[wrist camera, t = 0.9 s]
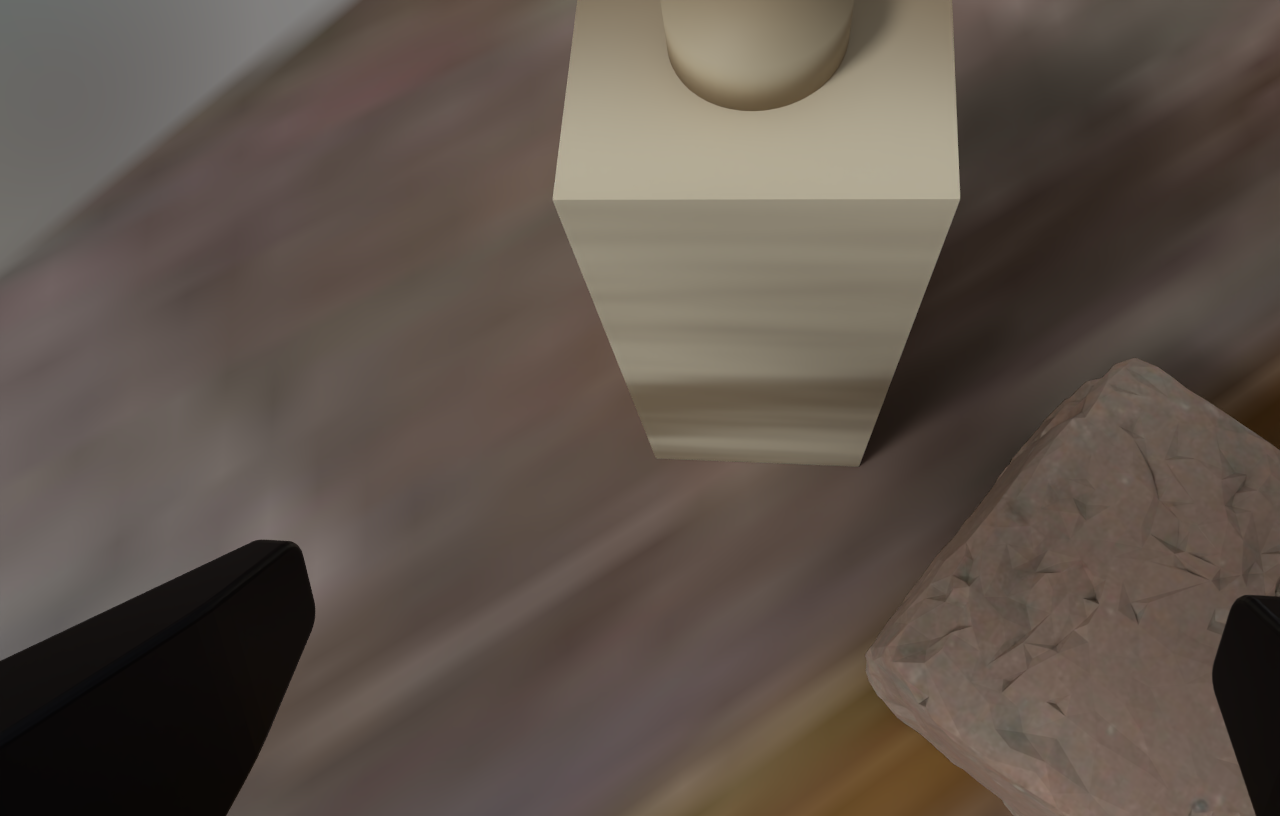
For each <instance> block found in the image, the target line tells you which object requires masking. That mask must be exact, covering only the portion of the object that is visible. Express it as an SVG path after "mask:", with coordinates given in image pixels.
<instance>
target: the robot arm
mask: <svg viewBox="0 0 1280 816" xmlns="http://www.w3.org/2000/svg"><path fill="white" fill-rule="evenodd" d="M314 620H315V603H314V598H313V594H312V590H311V586H310V582H309V578H308V574H307V569H306V565H305V561H304V557H303V554H302V551H301V549H300V548H299V546H298V545H297V544H295V543H293V542H291V541H277V540H256V541H253V542H251V543H249V544H247V545H245V546H242V547H240V548H238V549H236V550H234V551H232V552H230V553H228V554H226V555H223V556H221V557H219V558H217V559H215V560H213V561H211V562H209V563H206V564H204V565H202V566H200V567H198V568H196V569H194V570H192V571H190V572H187V573H185V574H183V575H181V576H179V577H177V578H175V579H173V580H171V581H168V582H166V583H164V584H162V585H160V586H158V587H156V588H154V589H152V590H149V591H147V592H145V593H143V594H141V595H139V596H137V597H135V598H132V599H130V600H128V601H126V602H124V603H122V604H120V605H118V606H116V607H113V608H111V609H109V610H107V611H105V612H103V613H101V614H99V615H97V616H94V617H92V618H90V619H88V620H86V621H84V622H82V623H80V624H78V625H75V626H73V627H71V628H69V629H67V630H65V631H63V632H61V633H59V634H56V635H54V636H52V637H50V638H48V639H46V640H44V641H42V642H39V643H37V644H35V645H33V646H31V647H29V648H27V649H25V650H23V651H20V652H18V653H16V654H14V655H12V656H10V657H8V658H6V659H4V660H1V661H0V816H226V815H227V813H228V811H229V809H230V808H231V806H232V804H233V802H234V800H235V799H236V797H237V795H238V793H239V791H240V789H241V788H242V786H243V784H244V782H245V780H246V778H247V776H248V775H249V773H250V771H251V769H252V767H253V765H254V763H255V761H256V759H257V757H258V755H259V753H260V751H261V748H262V746H263V744H264V742H265V740H266V738H267V735H268V733H269V731H270V728H271V726H272V724H273V721H274V719H275V716H276V714H277V712H278V709H279V707H280V705H281V702H282V700H283V697H284V695H285V693H286V690H287V688H288V686H289V683H290V681H291V678H292V676H293V674H294V671H295V669H296V667H297V664H298V662H299V659H300V657H301V655H302V652H303V650H304V648H305V645H306V643H307V640H308V638H309V636H310V633H311V631H312V628H313V624H314ZM1212 684H1213V690H1214V693H1215V696H1216V699H1217V702H1218V705H1219V708H1220V711H1221V714H1222V717H1223V720H1224V723H1225V726H1226V729H1227V732H1228V735H1229V738H1230V741H1231V744H1232V747H1233V750H1234V753H1235V756H1236V759H1237V762H1238V765H1239V768H1240V771H1241V774H1242V777H1243V780H1244V782H1245V785H1246V788H1247V791H1248V794H1249V797H1250V800H1251V803H1252V806H1253V809H1254V812H1255V815H1256V816H1280V596H1263V595H1243V596H1241V597H1239V598H1237V599H1236V600H1235V602H1234V603H1233V604H1232V606H1231V609H1230V611H1229V614H1228V617H1227V621H1226V624H1225V627H1224V630H1223V633H1222V637H1221V640H1220V643H1219V646H1218V650H1217V653H1216V656H1215V659H1214V663H1213V667H1212Z"/></svg>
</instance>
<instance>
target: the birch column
mask: <svg viewBox="0 0 1280 816" xmlns="http://www.w3.org/2000/svg"><path fill="white" fill-rule="evenodd" d="M959 201H960V181H959V157H958V133H957V109H956V85H955V61H954V38H953V14H952V0H577V8H576V16H575V24H574V32H573V40H572V48H571V56H570V64H569V72H568V80H567V88H566V96H565V104H564V112H563V120H562V128H561V136H560V144H559V152H558V160H557V168H556V176H555V184H554V192H553V202H554V205H555V207H556V210H557V212H558V215H559V217H560V220H561V222H562V225H563V227H564V230H565V232H566V235H567V237H568V240H569V242H570V245H571V247H572V250H573V252H574V255H575V257H576V260H577V262H578V265H579V267H580V270H581V272H582V275H583V277H584V280H585V282H586V285H587V287H588V290H589V292H590V295H591V297H592V299H593V302H594V304H595V307H596V309H597V312H598V314H599V317H600V319H601V322H602V324H603V327H604V329H605V332H606V334H607V337H608V339H609V342H610V344H611V347H612V349H613V352H614V354H615V357H616V359H617V362H618V364H619V367H620V369H621V372H622V374H623V377H624V379H625V382H626V384H627V387H628V389H629V392H630V394H631V397H632V399H633V402H634V404H635V407H636V409H637V412H638V414H639V417H640V419H641V422H642V424H643V427H644V429H645V432H646V434H647V437H648V439H649V442H650V444H651V447H652V449H653V452H654V454H655V457H656V458H658V459H682V460H707V461H732V462H757V463H781V464H806V465H831V466H855V467H859V465H860V462H861V460H862V457H863V455H864V452H865V449H866V447H867V444H868V441H869V439H870V436H871V433H872V431H873V428H874V426H875V423H876V420H877V418H878V415H879V412H880V410H881V407H882V404H883V402H884V399H885V396H886V394H887V391H888V389H889V386H890V383H891V381H892V378H893V375H894V373H895V370H896V367H897V365H898V362H899V360H900V357H901V354H902V352H903V349H904V346H905V344H906V341H907V338H908V336H909V333H910V330H911V328H912V325H913V323H914V320H915V317H916V315H917V312H918V309H919V307H920V304H921V301H922V299H923V296H924V294H925V291H926V288H927V286H928V283H929V280H930V278H931V275H932V272H933V270H934V267H935V264H936V262H937V259H938V257H939V254H940V251H941V249H942V246H943V243H944V241H945V238H946V235H947V233H948V230H949V228H950V225H951V222H952V220H953V217H954V214H955V212H956V209H957V206H958V204H959Z"/></svg>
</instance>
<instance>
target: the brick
mask: <svg viewBox="0 0 1280 816" xmlns="http://www.w3.org/2000/svg"><path fill="white" fill-rule="evenodd" d="M1243 595H1263V596H1280V450H1279V449H1277V448H1276V447H1275V446H1273V445H1272V444H1270V443H1269V442H1268V441H1266V440H1265V439H1263V438H1262V437H1260V436H1259V435H1257V434H1256V433H1254V432H1253V431H1251V430H1250V429H1248V428H1247V427H1245V426H1244V425H1242V424H1241V423H1240V422H1238V421H1237V420H1235V419H1234V418H1232V417H1231V416H1229V415H1228V414H1226V413H1225V412H1223V411H1222V410H1220V409H1219V408H1217V407H1216V406H1214V405H1213V404H1211V403H1210V402H1208V401H1207V400H1205V399H1203V398H1202V397H1200V396H1198V395H1197V394H1195V393H1193V392H1192V391H1190V390H1188V389H1187V388H1185V387H1184V386H1183V385H1182V384H1180V383H1179V382H1178V381H1177V380H1176V379H1174V378H1173V377H1172V376H1170V375H1169V374H1167V373H1166V372H1164V371H1163V370H1162V369H1160V368H1159V367H1157V366H1154V365H1152V364H1150V363H1147V362H1145V361H1142V360H1140V359H1137V358H1133V359H1129V360H1126V361H1123V362H1120V363H1117V364H1115V365H1114V366H1113V367H1112V368H1111V369H1110V370H1109V371H1108V373H1107V374H1106V375H1105V376H1103V377H1102V378H1100V379H1095V380H1089V381H1087V382H1085V383H1084V384H1083V385H1082V386H1081V387H1080V388H1079V389H1078V390H1076V391H1075V393H1074V394H1073V395H1072V396H1071V397H1070V398H1069V399H1065V400H1064V401H1063V402H1062V403H1061V404H1060V405H1059V406H1058V407H1057V408H1056V409H1055V410H1054V411H1053V412H1052V413H1051V414H1050V415H1049V416H1048V417H1047V418H1046V419H1045V420H1044V421H1043V423H1042V424H1041V426H1040V427H1039V428H1038V429H1037V430H1036V431H1035V433H1034V434H1033V435H1032V436H1031V438H1030V439H1029V440H1028V441H1027V442H1026V443H1025V444H1024V446H1023V447H1022V448H1021V449H1020V450H1019V451H1018V453H1017V454H1016V455H1015V456H1014V457H1013V459H1012V460H1011V463H1010V465H1008V466H1007V467H1006V468H1005V469H1004V471H1003V472H1002V473H1001V475H1000V476H999V477H998V479H997V480H996V483H995V485H994V486H993V488H992V489H991V490H990V491H989V493H988V494H987V495H986V497H985V498H984V499H983V501H982V502H981V503H980V505H979V506H978V507H977V508H976V510H975V511H974V512H973V513H972V515H971V516H970V517H969V518H968V519H967V520H965V522H964V523H963V525H962V527H961V528H960V530H959V531H958V533H957V534H956V535H955V537H954V538H953V539H952V540H951V541H950V542H949V543H948V544H947V545H946V546H945V547H944V548H943V549H942V550H941V551H940V552H939V553H938V555H937V556H936V557H935V558H934V560H933V561H932V563H931V564H930V565H929V567H928V568H927V570H926V571H925V572H924V574H923V575H922V577H921V578H920V579H919V581H918V582H917V583H916V584H915V585H914V587H913V588H912V589H911V590H910V591H909V593H908V594H907V596H906V598H905V599H904V601H903V602H902V604H901V605H900V607H899V608H898V609H897V611H896V612H895V613H894V614H893V616H892V617H891V618H890V620H889V621H888V622H887V623H886V625H885V626H884V628H883V630H882V631H881V632H880V633H879V635H878V637H877V639H876V641H875V642H874V644H873V645H872V646H871V647H870V648H869V650H868V651H867V653H866V654H865V656H866V660H867V664H866V673H867V677H868V681H869V682H870V684H871V685H872V687H873V689H874V690H875V692H876V694H877V695H878V696H879V697H880V698H881V699H882V700H883V701H884V702H885V703H886V705H887V706H888V707H889V709H890V710H891V711H892V712H893V713H894V714H895V716H896V717H897V718H899V719H900V720H901V721H902V722H904V723H905V724H907V725H908V726H910V727H911V728H913V729H914V730H916V731H917V732H918V733H920V734H921V735H922V736H923V737H925V738H926V739H927V740H928V741H929V742H931V743H932V744H933V745H934V746H935V748H936V749H937V750H939V751H940V752H941V753H943V754H944V755H945V756H946V757H947V758H948V759H949V760H950V761H951V762H952V763H953V764H955V765H956V766H958V767H960V768H962V769H963V770H965V771H966V772H967V773H968V774H969V775H971V776H972V777H973V778H974V779H976V780H977V781H978V782H979V783H980V784H982V785H983V786H984V787H986V788H987V789H988V790H990V791H991V792H992V793H994V794H995V795H996V796H998V797H999V798H1000V799H1002V800H1003V803H1004V804H1005V806H1006V807H1007V808H1008V809H1009V810H1010V812H1011V813H1012V814H1013V815H1014V816H1256V815H1255V812H1254V809H1253V806H1252V803H1251V800H1250V797H1249V794H1248V791H1247V788H1246V785H1245V782H1244V780H1243V777H1242V774H1241V771H1240V768H1239V765H1238V762H1237V759H1236V756H1235V753H1234V750H1233V747H1232V744H1231V741H1230V738H1229V735H1228V732H1227V729H1226V726H1225V723H1224V720H1223V717H1222V714H1221V711H1220V708H1219V705H1218V702H1217V699H1216V696H1215V693H1214V690H1213V684H1212V667H1213V663H1214V659H1215V656H1216V653H1217V650H1218V646H1219V643H1220V640H1221V637H1222V633H1223V630H1224V627H1225V624H1226V621H1227V617H1228V614H1229V611H1230V609H1231V606H1232V604H1233V603H1234V602H1235V600H1236V599H1237V598H1239V597H1241V596H1243Z"/></svg>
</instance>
